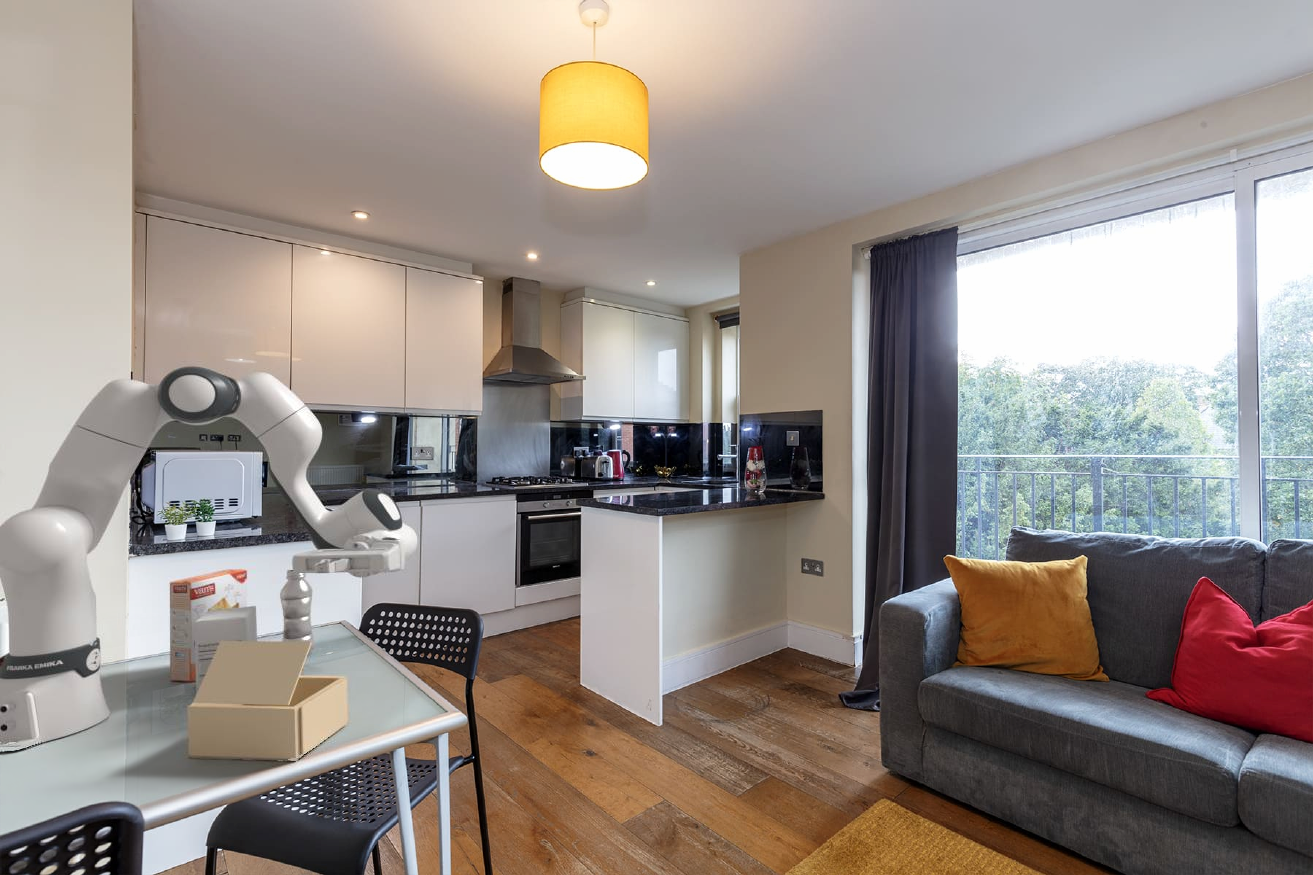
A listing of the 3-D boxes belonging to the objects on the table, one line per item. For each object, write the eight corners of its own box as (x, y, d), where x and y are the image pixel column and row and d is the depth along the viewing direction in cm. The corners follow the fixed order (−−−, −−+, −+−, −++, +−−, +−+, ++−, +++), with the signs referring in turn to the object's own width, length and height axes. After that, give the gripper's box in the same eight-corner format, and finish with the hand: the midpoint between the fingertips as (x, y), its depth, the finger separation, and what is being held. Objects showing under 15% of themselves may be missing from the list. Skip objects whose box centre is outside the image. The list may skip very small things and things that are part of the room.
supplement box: (208, 682, 127) (207, 610, 128) (259, 675, 131) (257, 604, 131) (194, 698, 119) (192, 621, 119) (248, 690, 122) (246, 615, 123)
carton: (185, 757, 95) (184, 706, 96) (252, 719, 109) (251, 673, 109) (298, 761, 93) (297, 708, 93) (352, 721, 107) (351, 675, 107)
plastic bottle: (306, 660, 139) (304, 571, 140) (275, 661, 139) (273, 573, 139) (319, 650, 146) (317, 566, 146) (290, 652, 145) (288, 567, 145)
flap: (192, 702, 95) (220, 640, 101) (194, 702, 95) (221, 641, 101) (287, 704, 93) (311, 641, 99) (289, 704, 94) (312, 642, 99)
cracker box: (192, 683, 127) (190, 582, 127) (168, 681, 128) (166, 581, 129) (250, 659, 141) (248, 568, 141) (228, 658, 142) (226, 568, 142)
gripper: (318, 540, 129) (269, 552, 115) (410, 538, 127) (371, 550, 113) (319, 570, 129) (270, 586, 115) (411, 569, 127) (373, 585, 113)
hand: (321, 568), depth 114 cm, fingers closed
